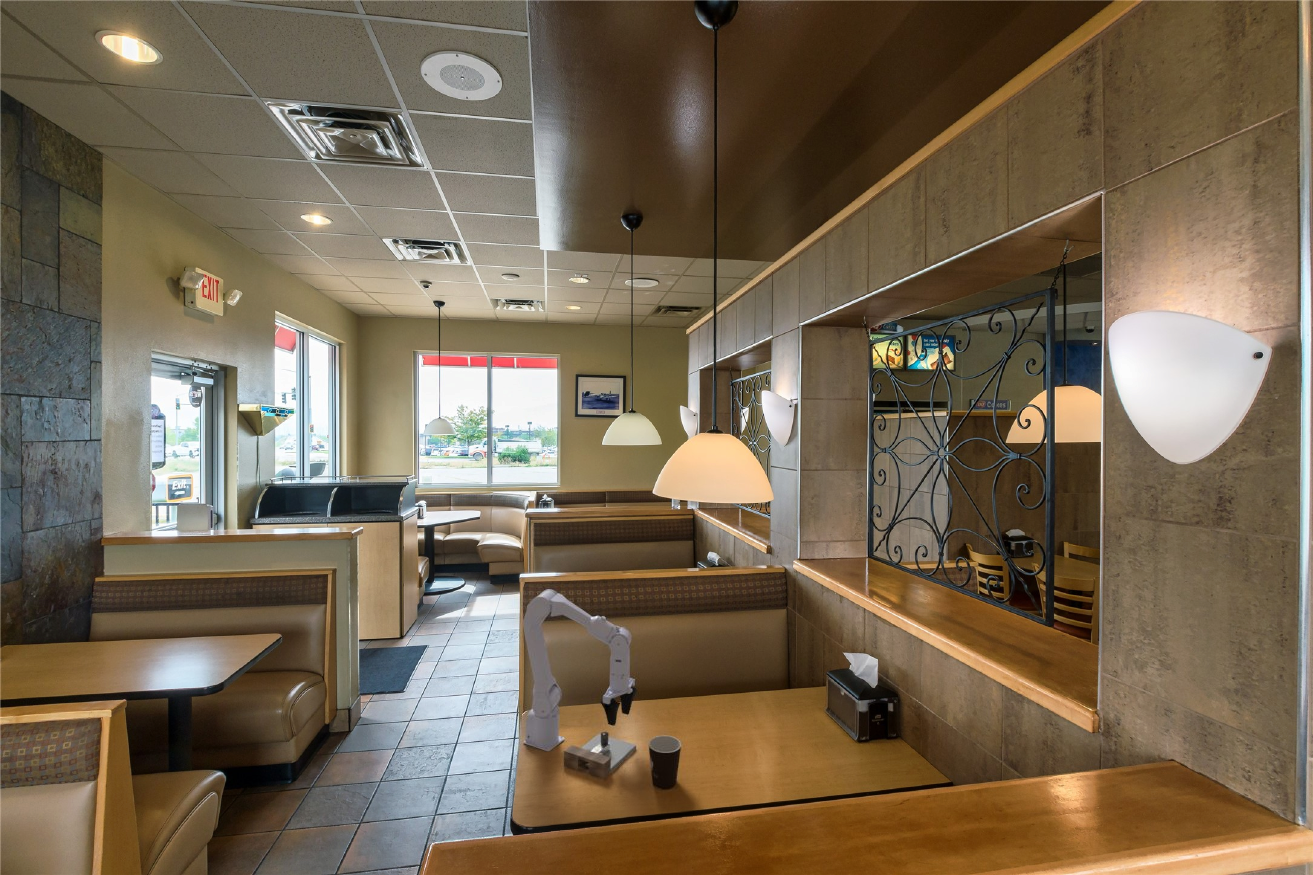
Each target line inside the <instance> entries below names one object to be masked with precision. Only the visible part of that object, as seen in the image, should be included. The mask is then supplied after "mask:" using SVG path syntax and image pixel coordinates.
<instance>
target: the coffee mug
mask: <svg viewBox="0 0 1313 875" xmlns="http://www.w3.org/2000/svg"><path fill="white" fill-rule="evenodd" d="M681 749H682V742H681V741H680V739H678V738H677V737H674V736H672V735H665V734H663V735H657V736H654V737H652V738H650V740H648V752H649V764H650V774H651V783H652V786H653V787H655V788H656V789H659V790H671V789H673V788H674V787H675V786H676V785H677V780H678V779H677V778H678V772H679V771H678V770H679V766H680V765H679V764H680V758H681Z"/></svg>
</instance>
